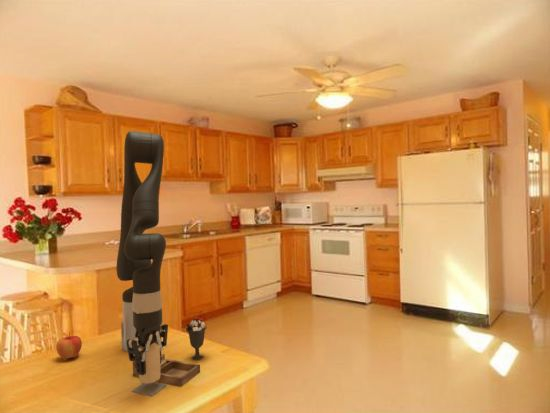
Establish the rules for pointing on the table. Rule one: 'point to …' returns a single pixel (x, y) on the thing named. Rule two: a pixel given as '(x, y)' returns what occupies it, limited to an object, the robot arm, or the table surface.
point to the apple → (69, 347)
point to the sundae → (196, 335)
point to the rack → (175, 372)
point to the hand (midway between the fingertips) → (149, 368)
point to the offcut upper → (162, 357)
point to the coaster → (149, 388)
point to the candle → (151, 364)
